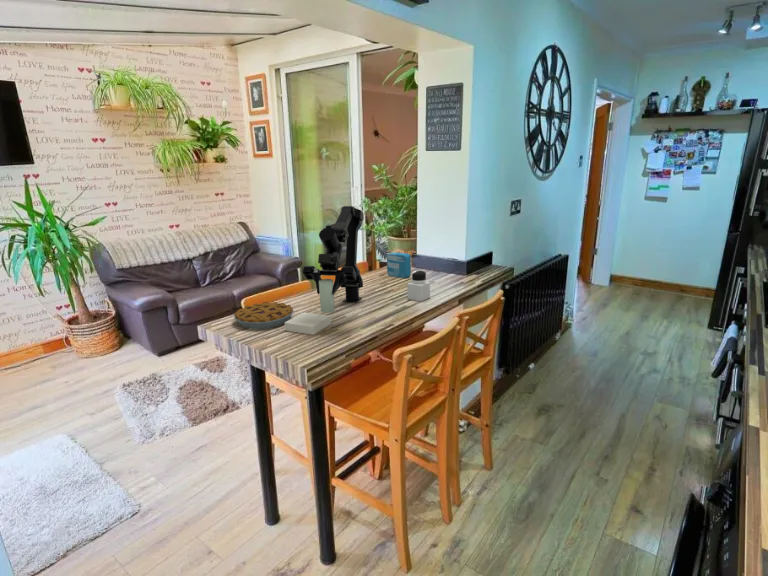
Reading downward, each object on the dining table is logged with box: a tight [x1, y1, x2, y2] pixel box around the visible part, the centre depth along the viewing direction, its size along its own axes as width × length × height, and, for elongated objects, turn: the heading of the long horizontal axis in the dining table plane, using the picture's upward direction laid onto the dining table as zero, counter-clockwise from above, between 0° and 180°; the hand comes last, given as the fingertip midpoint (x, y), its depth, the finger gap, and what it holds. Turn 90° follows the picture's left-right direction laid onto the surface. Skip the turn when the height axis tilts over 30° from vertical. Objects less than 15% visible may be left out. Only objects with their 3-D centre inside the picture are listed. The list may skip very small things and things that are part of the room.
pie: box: [233, 301, 295, 330], centre depth 170 cm, size 22×22×5 cm
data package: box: [386, 251, 412, 279], centre depth 229 cm, size 12×4×12 cm, turn 54°
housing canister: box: [319, 278, 336, 314], centre depth 157 cm, size 5×5×11 cm
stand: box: [284, 311, 332, 336], centre depth 162 cm, size 12×12×3 cm
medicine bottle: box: [407, 270, 431, 303], centre depth 191 cm, size 7×7×12 cm
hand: (325, 293), depth 155 cm, fingers closed on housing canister, 5 cm apart
